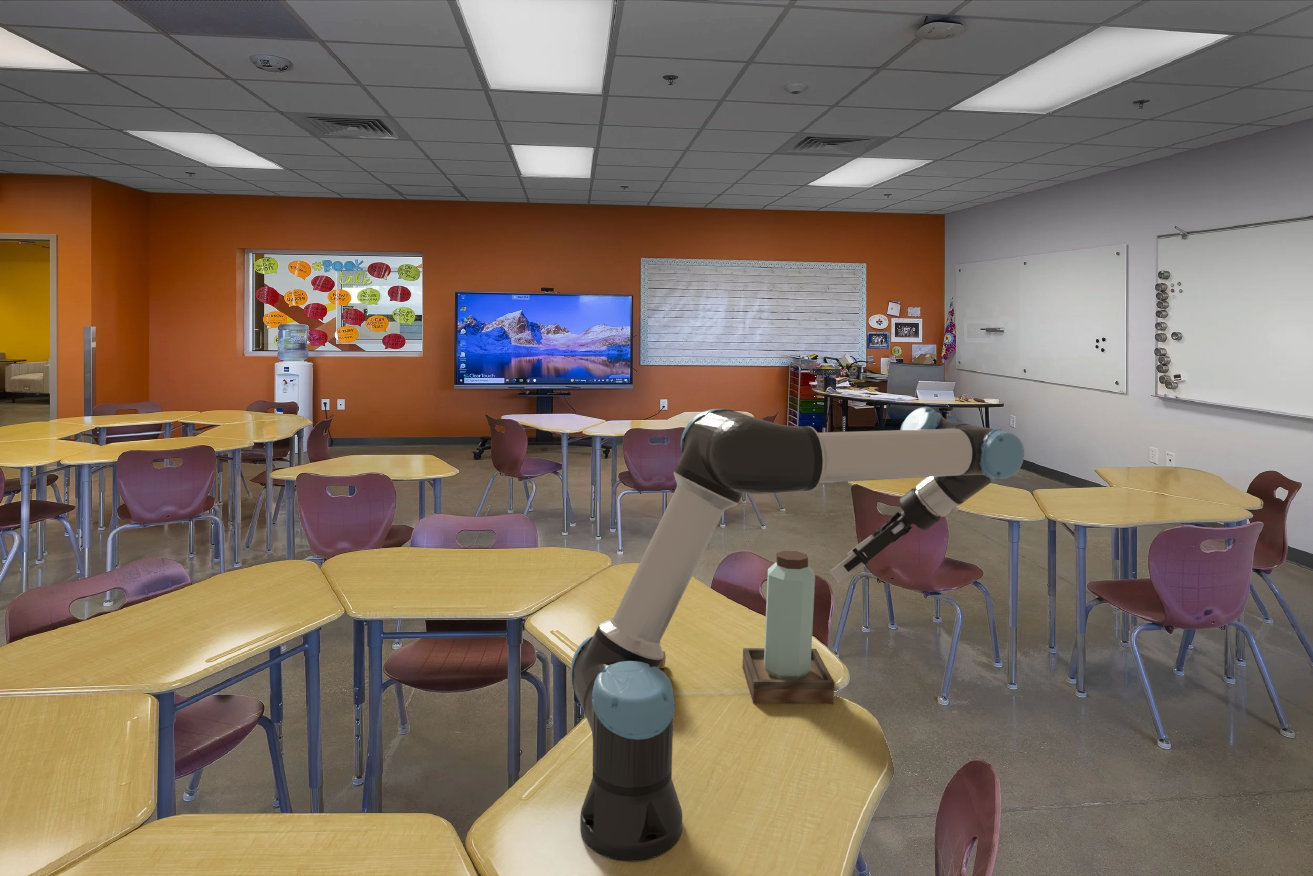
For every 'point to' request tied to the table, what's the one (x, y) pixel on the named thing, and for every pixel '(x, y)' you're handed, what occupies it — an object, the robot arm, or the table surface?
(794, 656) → the water bottle
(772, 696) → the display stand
